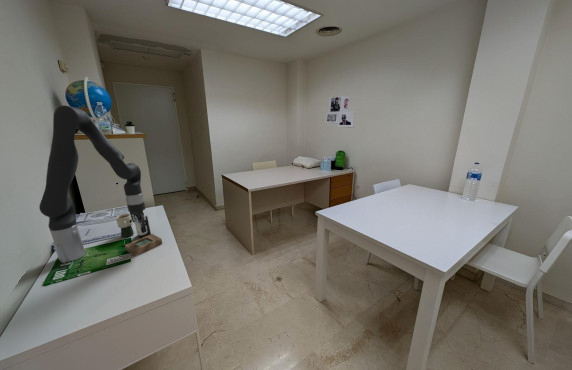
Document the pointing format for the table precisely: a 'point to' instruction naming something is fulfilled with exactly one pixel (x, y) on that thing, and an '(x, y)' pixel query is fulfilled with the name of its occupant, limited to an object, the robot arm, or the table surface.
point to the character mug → (125, 224)
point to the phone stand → (146, 233)
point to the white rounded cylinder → (139, 228)
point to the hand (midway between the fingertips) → (141, 230)
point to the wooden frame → (143, 244)
